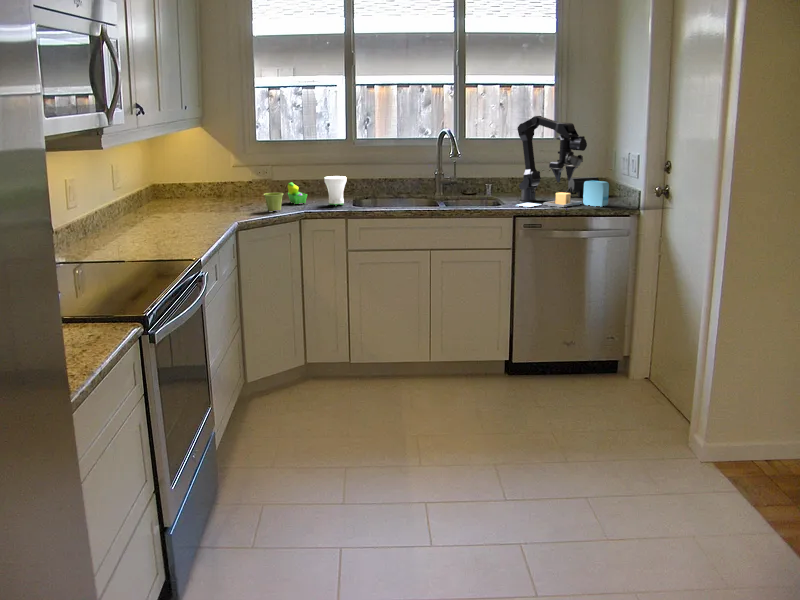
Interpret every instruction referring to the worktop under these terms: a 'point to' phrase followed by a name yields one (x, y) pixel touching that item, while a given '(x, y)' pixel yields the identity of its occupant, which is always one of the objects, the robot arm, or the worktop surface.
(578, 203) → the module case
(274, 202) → the plant pot
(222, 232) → the worktop surface
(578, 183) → the security camera
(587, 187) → the data package
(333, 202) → the cup
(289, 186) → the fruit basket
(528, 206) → the mat
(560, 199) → the module
